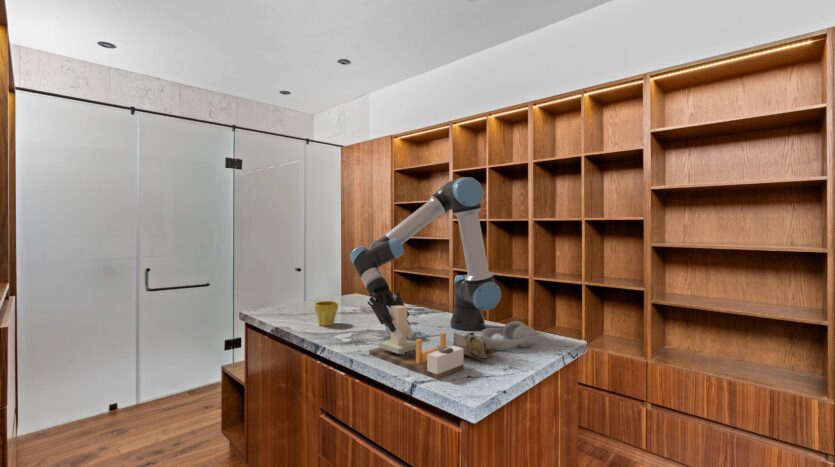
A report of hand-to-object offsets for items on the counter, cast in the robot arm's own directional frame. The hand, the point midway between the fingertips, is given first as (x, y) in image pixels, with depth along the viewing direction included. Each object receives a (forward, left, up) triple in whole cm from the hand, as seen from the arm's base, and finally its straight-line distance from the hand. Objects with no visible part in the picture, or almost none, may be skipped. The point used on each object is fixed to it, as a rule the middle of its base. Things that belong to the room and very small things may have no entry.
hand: (406, 337), depth 135 cm
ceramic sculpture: (-23, 0, -8) cm, 24 cm away
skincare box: (+4, -29, -7) cm, 30 cm away
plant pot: (+34, -50, -7) cm, 61 cm away
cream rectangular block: (-11, +13, -6) cm, 18 cm away
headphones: (-39, -14, -8) cm, 42 cm away
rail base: (-2, +3, -7) cm, 8 cm away
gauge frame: (-8, +9, -4) cm, 12 cm away
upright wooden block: (+2, -3, -5) cm, 6 cm away
